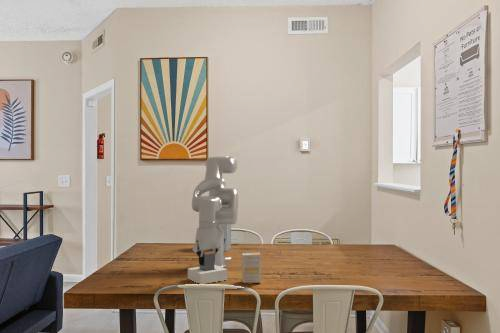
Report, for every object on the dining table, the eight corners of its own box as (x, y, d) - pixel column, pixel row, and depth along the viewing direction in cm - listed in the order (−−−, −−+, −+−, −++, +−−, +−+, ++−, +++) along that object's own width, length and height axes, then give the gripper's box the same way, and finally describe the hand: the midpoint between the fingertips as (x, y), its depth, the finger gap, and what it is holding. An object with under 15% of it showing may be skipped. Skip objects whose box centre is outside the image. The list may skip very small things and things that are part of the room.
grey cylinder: (208, 274, 190) (208, 249, 190) (214, 277, 186) (214, 251, 186) (199, 276, 187) (199, 250, 187) (204, 278, 183) (205, 252, 183)
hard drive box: (204, 249, 255) (204, 218, 255) (208, 247, 262) (209, 216, 263) (227, 251, 251) (227, 219, 251) (231, 249, 258) (231, 217, 258)
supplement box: (259, 280, 185) (260, 252, 185) (260, 283, 180) (260, 254, 180) (241, 281, 185) (242, 252, 185) (242, 284, 180) (242, 254, 180)
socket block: (213, 274, 195) (213, 264, 195) (227, 280, 186) (227, 269, 186) (187, 279, 187) (187, 268, 187) (200, 285, 177) (200, 273, 177)
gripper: (218, 222, 194) (218, 260, 195) (186, 225, 184) (186, 265, 184) (227, 224, 188) (226, 263, 188) (194, 227, 178) (194, 268, 178)
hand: (206, 263), depth 186 cm, fingers closed on grey cylinder, 5 cm apart
